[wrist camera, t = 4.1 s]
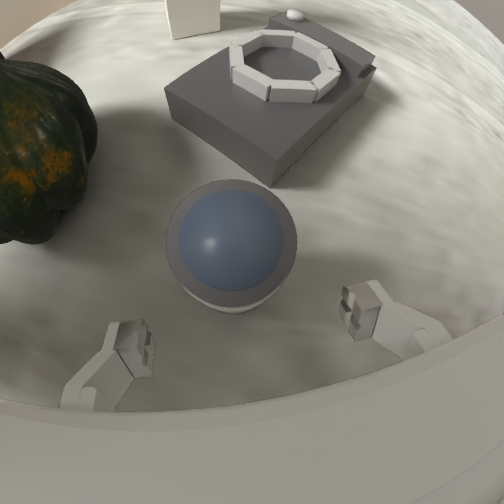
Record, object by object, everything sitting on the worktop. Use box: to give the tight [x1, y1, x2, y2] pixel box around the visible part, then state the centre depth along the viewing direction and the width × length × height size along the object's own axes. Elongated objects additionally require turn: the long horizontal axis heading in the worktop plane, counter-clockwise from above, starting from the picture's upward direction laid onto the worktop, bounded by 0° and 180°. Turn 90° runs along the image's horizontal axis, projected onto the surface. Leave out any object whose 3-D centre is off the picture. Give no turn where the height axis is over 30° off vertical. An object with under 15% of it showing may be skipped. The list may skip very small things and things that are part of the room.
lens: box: [166, 180, 297, 314], centre depth 15 cm, size 5×5×10 cm
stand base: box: [164, 9, 376, 188], centre depth 21 cm, size 16×11×6 cm
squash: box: [0, 59, 98, 244], centre depth 15 cm, size 14×15×15 cm
